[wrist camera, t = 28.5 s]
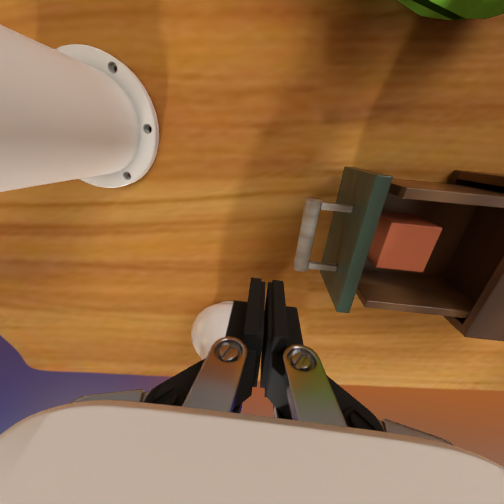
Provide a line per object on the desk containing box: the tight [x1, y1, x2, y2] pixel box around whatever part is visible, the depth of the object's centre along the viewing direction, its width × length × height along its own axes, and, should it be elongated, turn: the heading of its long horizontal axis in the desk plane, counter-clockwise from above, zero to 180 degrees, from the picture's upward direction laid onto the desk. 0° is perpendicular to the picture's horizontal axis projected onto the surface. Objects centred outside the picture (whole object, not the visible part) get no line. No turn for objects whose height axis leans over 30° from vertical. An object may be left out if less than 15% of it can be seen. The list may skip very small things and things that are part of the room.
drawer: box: [293, 167, 504, 318], centre depth 23 cm, size 19×12×8 cm, turn 85°
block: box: [367, 211, 442, 272], centre depth 23 cm, size 4×4×4 cm
